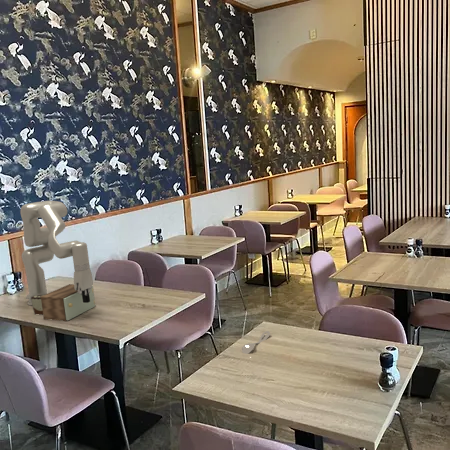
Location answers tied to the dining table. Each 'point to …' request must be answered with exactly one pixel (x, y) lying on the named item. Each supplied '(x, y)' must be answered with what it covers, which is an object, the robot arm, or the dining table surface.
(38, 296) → the food container
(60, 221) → the robot arm
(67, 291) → the wooden shelf
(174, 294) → the dining table surface
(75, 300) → the cabinet door
